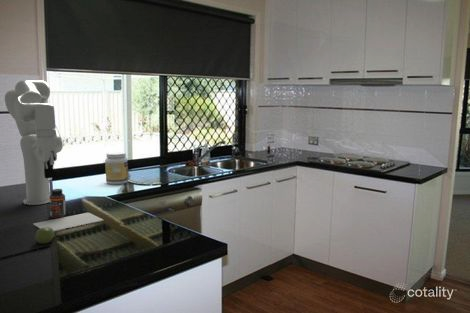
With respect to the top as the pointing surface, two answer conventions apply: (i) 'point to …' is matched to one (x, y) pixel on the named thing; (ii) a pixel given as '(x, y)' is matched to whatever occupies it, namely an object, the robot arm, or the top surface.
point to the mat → (69, 221)
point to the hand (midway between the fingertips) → (49, 177)
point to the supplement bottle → (57, 204)
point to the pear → (44, 235)
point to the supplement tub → (116, 168)
